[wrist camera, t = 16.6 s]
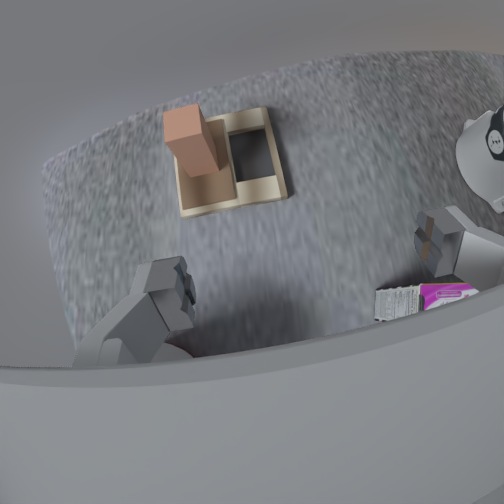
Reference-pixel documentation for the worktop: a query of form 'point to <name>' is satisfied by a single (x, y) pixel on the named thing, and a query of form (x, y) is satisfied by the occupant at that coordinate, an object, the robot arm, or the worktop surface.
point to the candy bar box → (417, 298)
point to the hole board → (235, 167)
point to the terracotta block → (190, 140)
